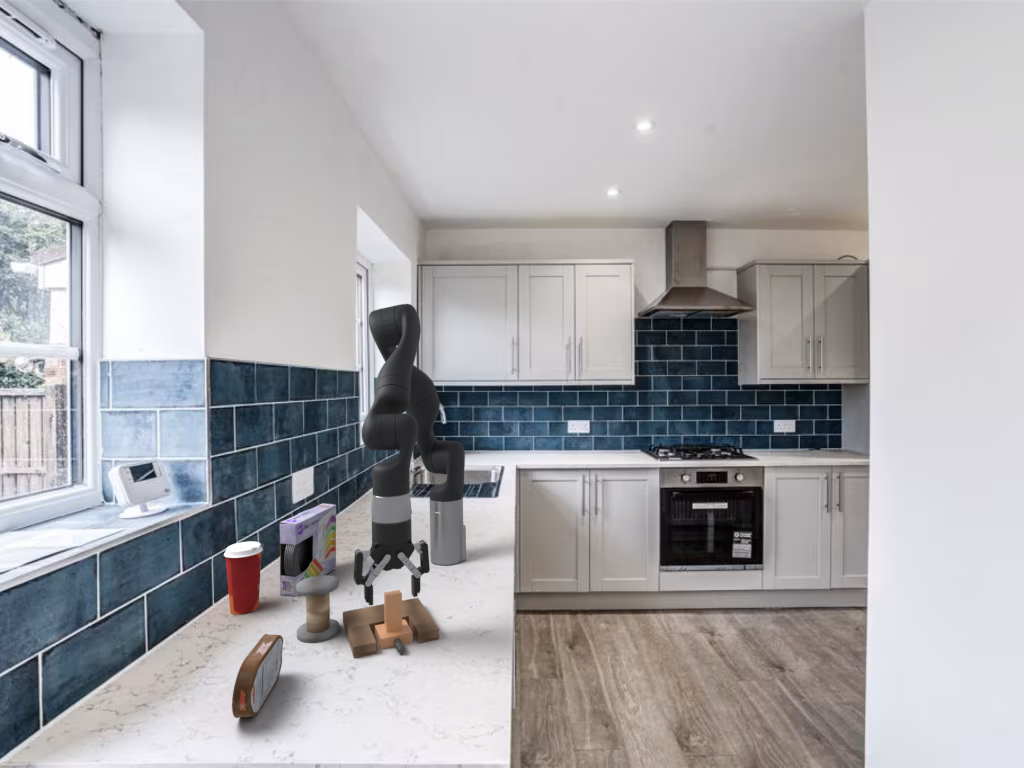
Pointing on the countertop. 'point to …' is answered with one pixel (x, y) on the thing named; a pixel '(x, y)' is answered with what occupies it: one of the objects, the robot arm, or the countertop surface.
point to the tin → (257, 676)
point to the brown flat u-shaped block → (365, 619)
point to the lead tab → (393, 624)
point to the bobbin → (317, 609)
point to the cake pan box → (307, 546)
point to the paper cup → (243, 576)
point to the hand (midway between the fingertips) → (392, 599)
